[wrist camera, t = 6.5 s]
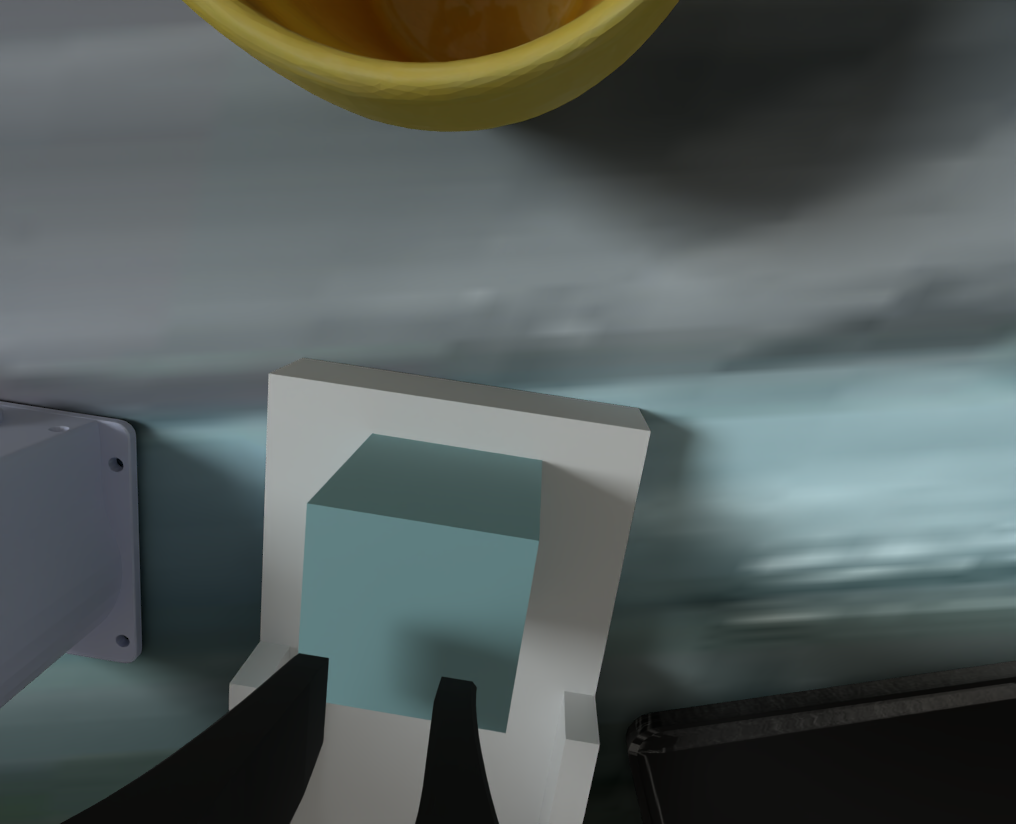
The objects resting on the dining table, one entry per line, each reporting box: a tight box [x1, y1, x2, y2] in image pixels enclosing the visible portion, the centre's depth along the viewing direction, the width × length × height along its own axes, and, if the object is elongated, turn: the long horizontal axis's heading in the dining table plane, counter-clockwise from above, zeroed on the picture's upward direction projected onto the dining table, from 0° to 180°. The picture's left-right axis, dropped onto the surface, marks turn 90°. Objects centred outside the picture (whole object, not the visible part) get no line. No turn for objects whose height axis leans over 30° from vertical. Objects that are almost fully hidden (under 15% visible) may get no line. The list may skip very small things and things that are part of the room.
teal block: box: [298, 433, 542, 733], centre depth 16 cm, size 5×5×5 cm
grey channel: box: [229, 358, 651, 824], centre depth 21 cm, size 22×11×4 cm, turn 172°
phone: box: [626, 661, 1016, 824], centre depth 23 cm, size 8×1×15 cm
